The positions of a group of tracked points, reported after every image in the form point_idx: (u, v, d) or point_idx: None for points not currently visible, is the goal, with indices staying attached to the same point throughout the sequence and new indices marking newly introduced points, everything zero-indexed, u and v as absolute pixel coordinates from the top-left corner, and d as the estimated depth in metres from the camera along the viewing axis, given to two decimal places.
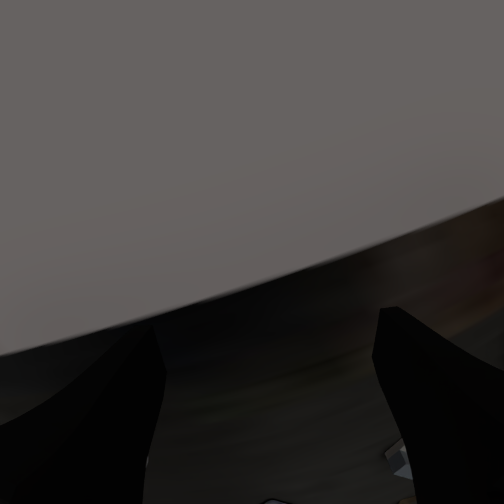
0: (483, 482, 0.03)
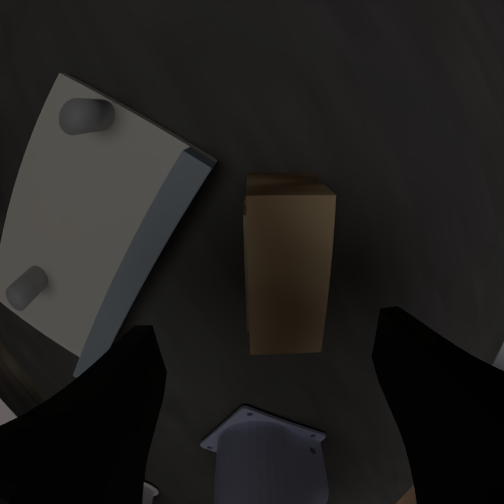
0: (483, 482, 0.03)
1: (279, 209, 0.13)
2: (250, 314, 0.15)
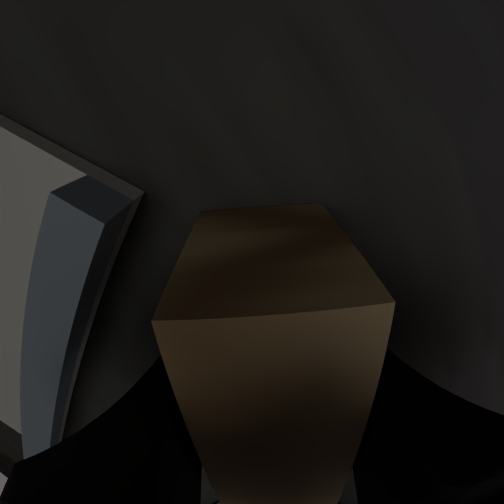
0: None
1: (245, 348, 0.05)
2: (213, 485, 0.07)
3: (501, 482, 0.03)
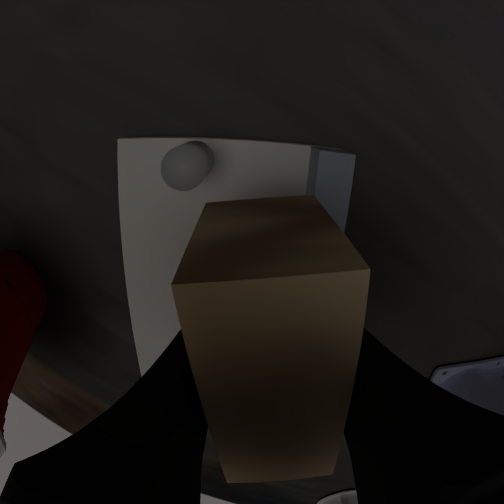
0: None
1: (248, 307, 0.06)
2: (217, 449, 0.08)
3: (501, 482, 0.03)
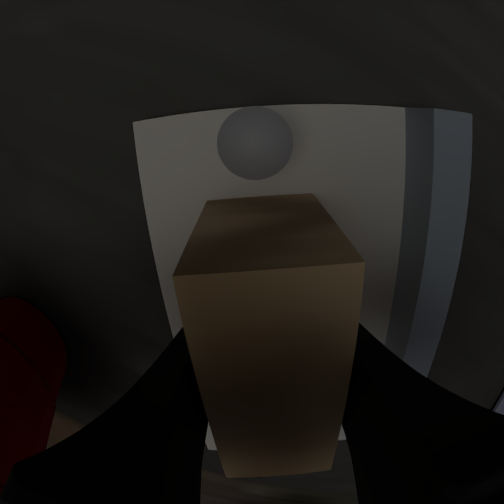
0: None
1: (246, 298, 0.06)
2: (216, 442, 0.08)
3: (502, 481, 0.03)
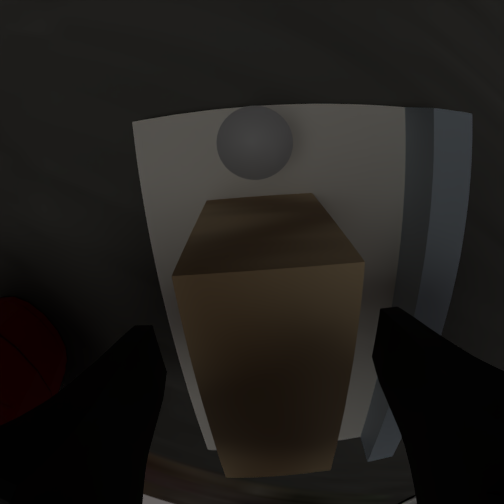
0: (483, 482, 0.03)
1: (245, 298, 0.06)
2: (216, 443, 0.08)
3: None
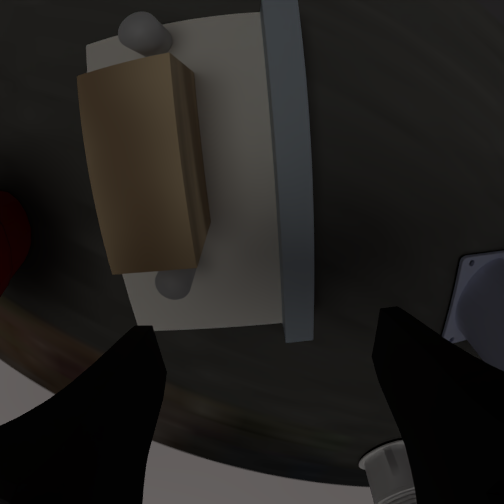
0: (483, 482, 0.03)
1: (109, 81, 0.09)
2: (98, 216, 0.11)
3: None
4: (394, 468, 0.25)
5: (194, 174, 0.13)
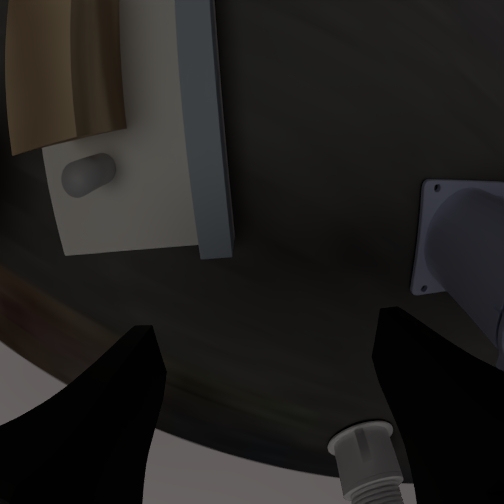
0: (483, 482, 0.03)
1: None
2: (7, 100, 0.09)
3: None
4: (365, 452, 0.23)
5: (96, 66, 0.11)
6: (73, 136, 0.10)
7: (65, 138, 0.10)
